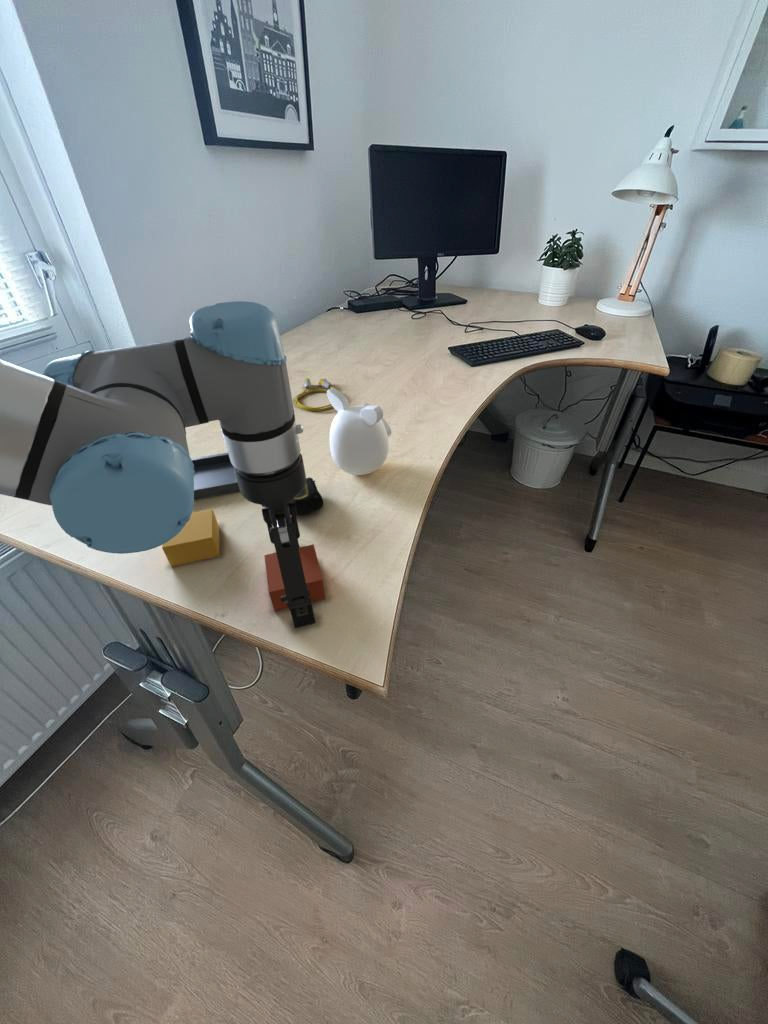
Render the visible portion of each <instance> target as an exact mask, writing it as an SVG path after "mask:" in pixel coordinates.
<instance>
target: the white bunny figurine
mask: <svg viewBox="0 0 768 1024" xmlns="http://www.w3.org/2000/svg"><path fill="white" fill-rule="evenodd" d="M327 390H328V391H327V392H326V396H327V398H328V401H329V404H331V406H333V409H334V410H335V411H336V412H337V413H336V414H335V416H334V418H333V420H332V422H331V424H330V429H329V450H330V455H331V458H332V460H333V462H334V464H335V465H336V466H337V467H338V468H339V469H340V470H342V471H343V472H344V473H347V474H349V475H354V476H365V475H368V474H372V473H374V472H376V471H377V470H378V469H381V467H382V466H383V465H384V463H385V462H386V461H387V458H388V456H389V450H390V445H389V444H390V443H389V437H390V436H392V432H393V431H392V429H391V427H390V425H389V424H388V422H387V420H386V419H385V418H384V411H383V408H381V406H380V405H370V404H369V403H368V402H365V403H364V404H362V405H351V406H350V404H349V400H348V399H347V397H346V396H345V395H344V394H343V393H342V392H341V391H339V390H338V389H336V388H335V387H332V388H331V389H327Z"/></svg>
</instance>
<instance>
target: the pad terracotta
mask: <svg viewBox="0 0 768 1024" xmlns="http://www.w3.org/2000/svg"><path fill="white" fill-rule="evenodd" d="M299 553H300V557H301V562H302V567H303V571H304V576H305V581H306V585H307V586H308V589H309V594H310V597H311V603H315V602H319V601H324V600H327V599H326V598H327V597H326V592H325V586H324V580H323V575H322V572H321V568H320V567H321V566H320V563H319V561H318V559H319V558H318V556H317V552H316V548H315V545H314V544H308V545H304V546H299ZM263 557H264V564H265V571H266V581H267V588H268V589H267V590H268V594H269V598H270V601H271V604H272V605H271V606H272V608H273V611H274V612H278V611H282V610H286V609H289V608H288V606H287V601H285V602H281V596H284V595H286V593H285V589H284V584H283V580H282V576H281V571H280V567H279V562H278V558H277V554H276V552H273V553H267V554H264V555H263Z"/></svg>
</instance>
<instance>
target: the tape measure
mask: <svg viewBox="0 0 768 1024" xmlns="http://www.w3.org/2000/svg"><path fill="white" fill-rule="evenodd" d="M317 487H318V486H317V485H316V480H314V478H312V477H306V484H305V487H304V488H303V490H302V491H301V492H300V493H299V494H298V495H297V496H296V497H294V501H293V502H295V503H296V508H297V516H305V515H307V514H311V513H312V512H314V511H315V512H316V511H319V510H321V509H322V508H323V507H324V498H323V496H322V495H321V493H320V492H319V490H318V488H317Z"/></svg>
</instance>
